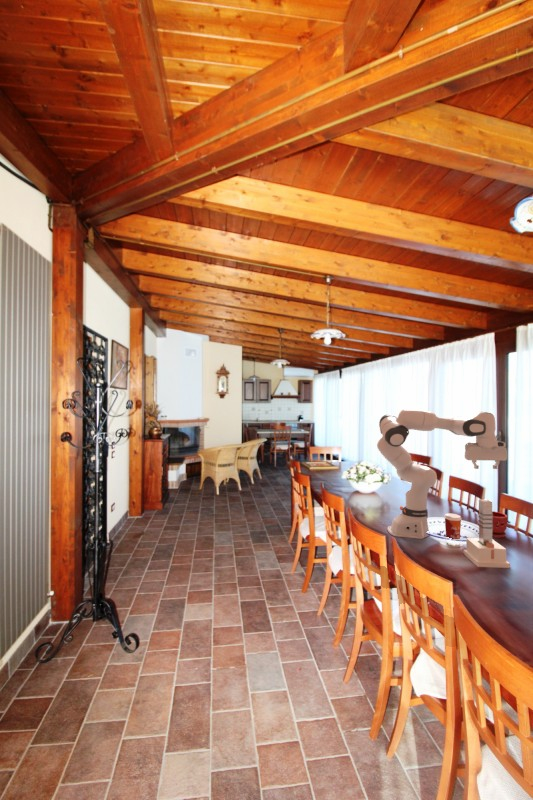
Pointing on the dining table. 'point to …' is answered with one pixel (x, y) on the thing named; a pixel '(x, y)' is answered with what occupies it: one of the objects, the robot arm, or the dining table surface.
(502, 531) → the plant pot
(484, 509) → the column
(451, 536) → the coffee cup
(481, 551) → the sleeve stand
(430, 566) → the dining table surface
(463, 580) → the dining table surface
